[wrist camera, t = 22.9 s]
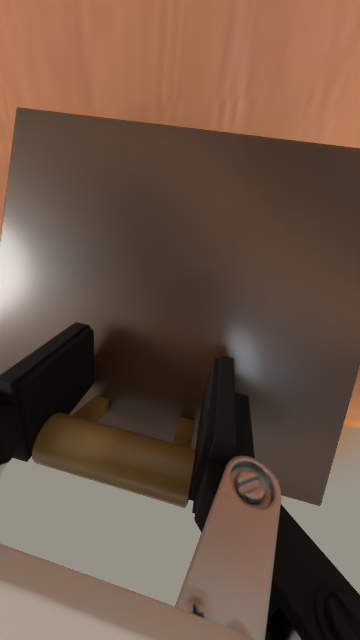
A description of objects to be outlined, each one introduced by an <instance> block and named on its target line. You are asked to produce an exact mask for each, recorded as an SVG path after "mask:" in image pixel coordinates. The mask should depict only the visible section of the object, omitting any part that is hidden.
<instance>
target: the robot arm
mask: <svg viewBox="0 0 360 640" xmlns="http://www.w3.org/2000/svg"><path fill="white" fill-rule="evenodd" d="M94 380H95V365H94V330H93V329H91V327H90V325H87V324H83V323H78V322H75V323H73V324H72V325H71V326H69V327H68V328H66V329H65V330H63V331H62V332H61V333H59V334H58V335H56V336H55V337H53V338H52V339H51V340H49V341H48V342H46V343H45V344H43V345H42V346H41V347H39V348H38V349H36V350H35V351H34V352H32V353H31V354H29V355H28V356H26V357H25V358H24V359H22V360H21V361H19V362H18V363H16V364H15V365H14V366H12V367H11V368H9V369H8V370H6V371H5V372H4V373H2V374H1V375H0V475H1V473H2V471H3V470H4V468H5V466H6V463H7V462H9V461H10V460H11V458H12V457H13V458H16V459H19V460H22V461H26V462H27V461H28V460H29V459H30V458H31V456H32V449H33V445H34V442H35V439H36V437H37V435H38V433H39V431H40V429H41V428H42V426H43V425H44V423H45V422H46V421H47V420H48V419H49V418H50V417H51V416H52V415H54V414H56V413H64V414H68V415H69V414H70V413H71V412H72V411H73V409H74V408H75V407H76V406H77V404H78V403H79V402H80V401H81V399H82V398H83V397H84V396H85V394H86V393H87V392H88V391H89V389H90V388H91V387H92V385H93V383H94ZM195 450H196V462H195V468H194V475H193V480H192V485H191V490H190V496H189V500H193V501H194V503H193V511H192V513H195V522H196V524H197V525H198V527H199V529H200V530H201V532H202V534H201V536H200V539H199V542H198V545H197V548H196V550H195V553H194V556H193V559H192V561H191V564H190V566H189V569H188V572H187V575H186V577H185V580H184V583H183V586H182V588H181V592H180V594H179V597H178V599H177V602H176V605H175V607H174V606H171V605H169V604H166V603H163V602H161V601H158V600H155V599H152V598H150V597H147V596H144V595H141V594H138V593H136V592H133V591H130V590H127V589H124V588H122V587H119V586H116V585H113V584H111V583H108V582H105V581H103V580H100V579H97V578H94V577H91V576H89V575H86V574H83V573H80V572H78V571H75V570H72V569H69V568H66V567H64V566H61V565H58V564H55V563H53V562H50V561H47V560H44V559H41V558H38V557H36V556H33V555H30V554H27V553H24V552H22V551H19V550H16V549H13V548H10V547H8V546H5V545H2V544H0V640H360V595H359V594H358V593H357V591H356V590H355V589H354V588H353V587H352V586H351V585H350V583H349V582H348V581H347V580H346V579H345V578H344V576H343V575H342V574H341V573H340V572H339V571H338V570H337V568H336V567H335V566H334V565H333V564H332V563H331V561H330V560H329V559H328V558H327V557H326V556H325V554H324V553H323V552H322V551H321V550H320V549H319V548H318V546H317V545H316V544H315V543H314V542H313V541H312V539H311V538H310V537H309V536H308V535H307V534H306V533H305V531H304V530H303V529H302V528H301V527H300V526H299V524H298V523H297V522H296V521H295V520H294V519H293V518H292V516H291V515H290V514H289V513H288V512H287V511H286V510H285V508H284V507H283V506H282V505H281V489H280V486H279V483H278V480H277V479H276V477H275V475H274V474H273V472H272V471H271V470H270V469H269V468H268V467H267V466H266V465H265V464H264V463H262V462H261V461H259V460H258V459H255V454H254V444H253V434H252V424H251V414H250V404H249V397H248V395H245V394H241V393H237V392H235V383H234V358H231V357H227V356H223V355H220V357H219V358H216V357H214V360H213V364H212V368H211V372H210V376H209V380H208V384H207V388H206V392H205V396H204V400H203V404H202V408H201V413H200V420H199V427H198V433H197V440H196V447H195Z"/></svg>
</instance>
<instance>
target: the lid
mask: <svg viewBox="0 0 360 640" xmlns="http://www.w3.org/2000/svg"><path fill="white" fill-rule="evenodd" d="M75 322H78V323H83V324H87V325H90V327H91V329H93V330H94V365H95V380H94V383H93V385H92V387H91V388H90V389H89V391H88V392H87V393H86V394H85V396H84V397H83V398H82V399H81V401H80V402H79V403H78V404H77V406H76V407H75V408H74V409H73V411H72V412H71V413H70V414H69V415H68V414H64V413H56V414H54V415H52V416H51V417H50V418H49V419H48V420H47V421H46V422H45V423H44V425H43V426H42V428H41V429H40V431H39V433H38V435H37V437H36V439H35V442H34V445H33V449H32V458H33V460H34V462H35V463H37V464H41V465H44V466H47V467H51V468H54V469H57V470H60V471H64V472H67V473H70V474H74V475H77V476H80V477H83V478H87V479H90V480H94V481H97V482H100V483H104V484H107V485H110V486H113V487H117V488H120V489H123V490H127V491H130V492H133V493H136V494H140V495H143V496H147V497H150V498H153V499H156V500H160V501H163V502H166V503H170V504H173V505H176V506H180V507H183V508H185V507H186V506H187V504H188V500H189V496H190V490H191V485H192V480H193V475H194V468H195V462H196V450H195V447H196V440H197V433H198V427H199V420H200V413H201V408H202V404H203V400H204V396H205V392H206V388H207V384H208V380H209V376H210V372H211V368H212V364H213V360H214V357H216V358H219V357H220V355H223V356H227V357H231V358H234V383H235V392H237V393H241V394H245V395H248V397H249V404H250V414H251V424H252V434H253V444H254V454H255V459H258V460H259V461H261V462H262V463H264V464H265V465H266V466H267V467H268V468H269V469H270V470H271V471H272V472H273V474H274V475H275V477H276V479H277V480H278V483H279V486H280V489H281V495H283V496H286V497H290V498H293V499H297V500H300V501H304V502H307V503H311V504H315V505H318V506H320V505H321V502H322V499H323V495H324V491H325V488H326V484H327V480H328V477H329V473H330V470H331V466H332V463H333V459H334V456H335V452H336V448H337V445H338V441H339V438H340V434H341V430H342V427H343V423H344V420H345V416H346V413H347V409H348V405H349V402H350V398H351V395H352V391H353V387H354V384H355V380H356V377H357V373H358V369H359V366H360V148H351V147H343V146H335V145H326V144H318V143H310V142H302V141H293V140H285V139H277V138H268V137H260V136H252V135H243V134H235V133H227V132H218V131H210V130H202V129H193V128H185V127H177V126H168V125H160V124H152V123H143V122H135V121H127V120H118V119H110V118H102V117H93V116H85V115H77V114H68V113H60V112H52V111H44V110H35V109H27V108H19V107H18V108H17V110H16V118H15V126H14V134H13V142H12V150H11V158H10V165H9V173H8V181H7V189H6V197H5V205H4V213H3V221H2V229H1V237H0V375H1V374H2V373H4V372H5V371H6V370H8V369H9V368H11V367H12V366H14V365H15V364H16V363H18V362H19V361H21V360H22V359H24V358H25V357H26V356H28V355H29V354H31V353H32V352H34V351H35V350H36V349H38V348H39V347H41V346H42V345H43V344H45V343H46V342H48V341H49V340H51V339H52V338H53V337H55V336H56V335H58V334H59V333H61V332H62V331H63V330H65V329H66V328H68V327H69V326H71V325H72V324H73V323H75Z"/></svg>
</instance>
